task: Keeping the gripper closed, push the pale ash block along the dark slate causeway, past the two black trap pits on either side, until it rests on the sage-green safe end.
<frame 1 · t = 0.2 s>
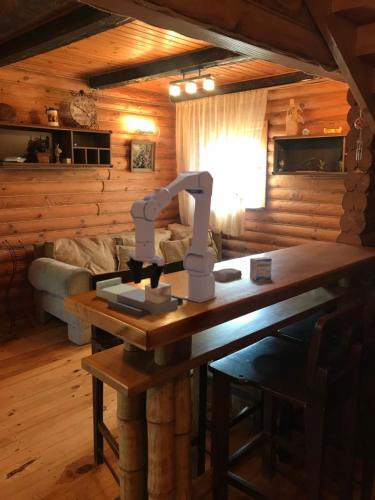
hand: (145, 285, 130), 10 cm above the bar counter, tool pointing down, fingers open, 7 cm apart
medicine box: (260, 279, 179), on the bar counter
trap causeway: (137, 302, 146), on the bar counter
ash block: (158, 299, 139), point 3 cm above the bar counter, touching trap causeway
stone block: (224, 278, 181), on the bar counter
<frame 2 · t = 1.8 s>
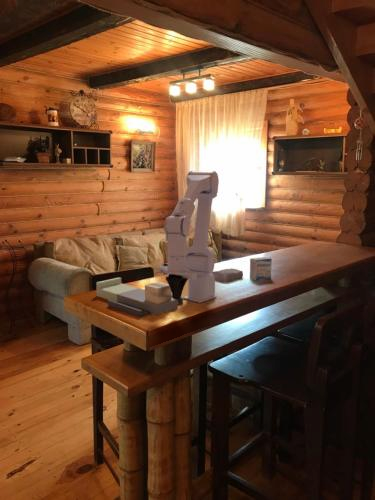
hand: (176, 298, 133), 5 cm above the bar counter, tool pointing down, fingers closed
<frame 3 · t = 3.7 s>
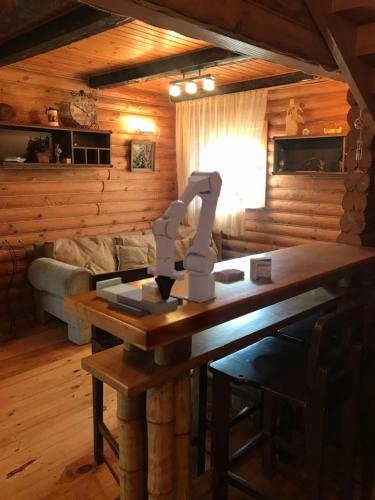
hand: (165, 299, 137), 4 cm above the bar counter, tool pointing down, fingers closed
ash block: (155, 299, 140), point 3 cm above the bar counter, touching gripper
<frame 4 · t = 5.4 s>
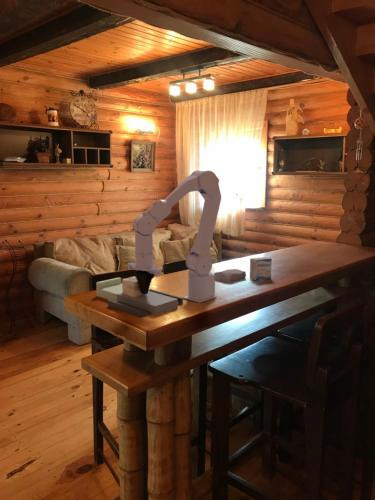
hand: (144, 293, 143), 4 cm above the bar counter, tool pointing down, fingers closed
ash block: (135, 293, 146), point 3 cm above the bar counter, touching gripper, trap causeway
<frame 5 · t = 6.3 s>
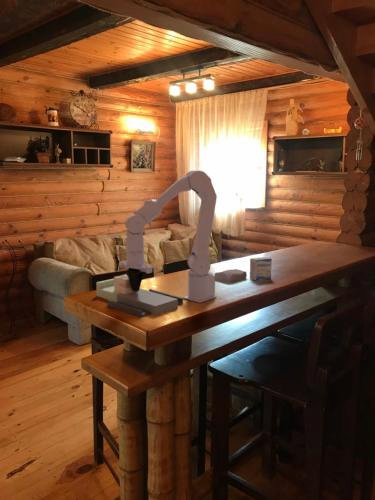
hand: (135, 290, 146), 4 cm above the bar counter, tool pointing down, fingers closed
ash block: (126, 290, 149), point 3 cm above the bar counter, touching gripper
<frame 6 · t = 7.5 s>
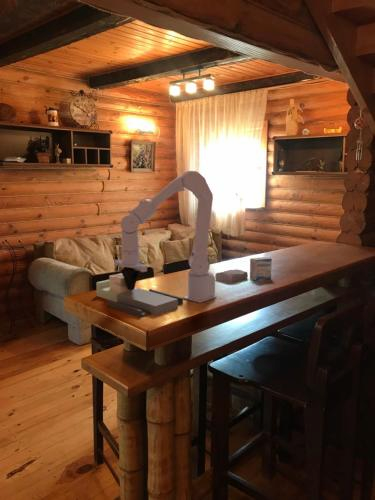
hand: (131, 289, 148), 4 cm above the bar counter, tool pointing down, fingers closed
ash block: (121, 289, 151), point 3 cm above the bar counter, touching gripper, trap causeway
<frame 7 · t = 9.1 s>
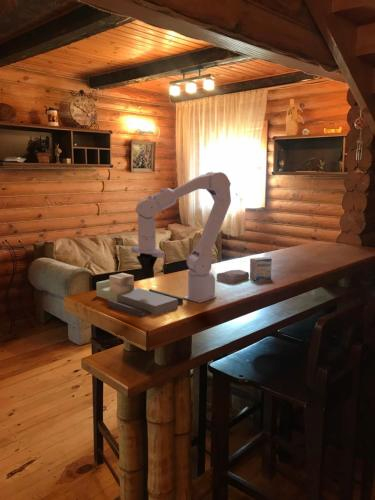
hand: (147, 276, 144), 9 cm above the bar counter, tool pointing down, fingers closed
ash block: (121, 289, 151), point 3 cm above the bar counter, touching trap causeway
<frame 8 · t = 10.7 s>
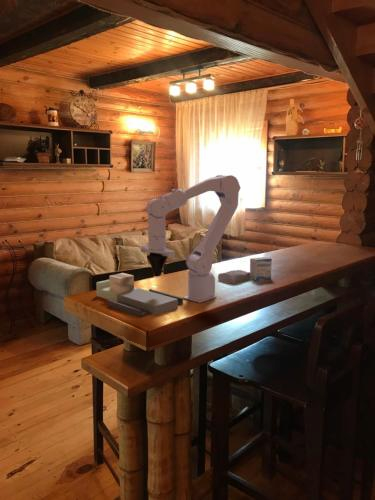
hand: (157, 275, 145), 9 cm above the bar counter, tool pointing down, fingers closed
at the end: ash block inside the target area on the trap causeway (1.3 cm from its centre), point 3.0 cm above the trap causeway's base; ash block tilted 0° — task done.
